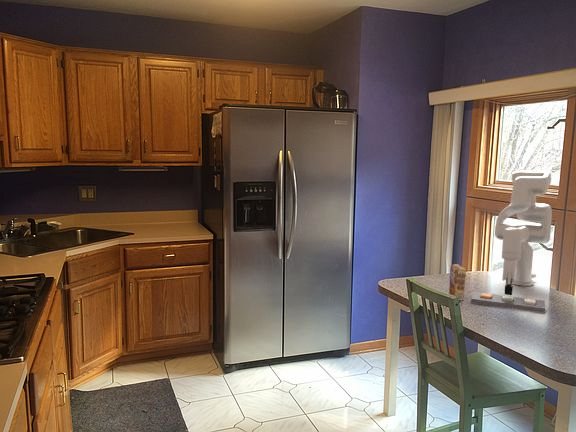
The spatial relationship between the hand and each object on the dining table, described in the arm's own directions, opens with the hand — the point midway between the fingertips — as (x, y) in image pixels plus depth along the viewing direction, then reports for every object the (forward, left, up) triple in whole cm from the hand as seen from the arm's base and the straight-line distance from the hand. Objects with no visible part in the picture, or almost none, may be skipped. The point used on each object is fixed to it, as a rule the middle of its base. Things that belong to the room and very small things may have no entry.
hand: (508, 294), depth 217 cm
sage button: (+1, 0, -4) cm, 4 cm away
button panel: (+1, 0, -4) cm, 4 cm away
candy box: (+15, -17, -5) cm, 23 cm away
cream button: (-5, +8, -4) cm, 10 cm away
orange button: (+6, -7, -4) cm, 10 cm away
